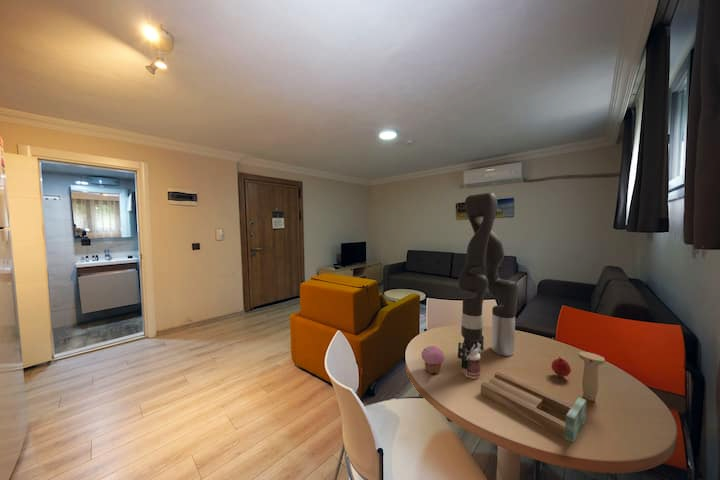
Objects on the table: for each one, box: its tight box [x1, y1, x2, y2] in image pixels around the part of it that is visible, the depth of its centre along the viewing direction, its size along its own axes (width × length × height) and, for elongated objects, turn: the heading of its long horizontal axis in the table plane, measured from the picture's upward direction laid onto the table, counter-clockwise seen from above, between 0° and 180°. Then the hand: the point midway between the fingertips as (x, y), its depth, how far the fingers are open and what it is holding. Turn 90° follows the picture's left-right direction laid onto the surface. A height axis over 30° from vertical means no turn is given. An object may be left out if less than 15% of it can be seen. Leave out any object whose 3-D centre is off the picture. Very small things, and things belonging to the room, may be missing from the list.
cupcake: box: [421, 345, 445, 374], centre depth 106 cm, size 9×9×10 cm
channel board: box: [480, 371, 587, 444], centre depth 86 cm, size 12×26×7 cm, turn 37°
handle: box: [578, 351, 606, 402], centre depth 89 cm, size 5×6×15 cm
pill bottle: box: [462, 347, 481, 380], centre depth 103 cm, size 6×6×11 cm
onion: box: [551, 356, 572, 378], centre depth 101 cm, size 6×6×8 cm
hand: (470, 364), depth 104 cm, fingers open, 8 cm apart
